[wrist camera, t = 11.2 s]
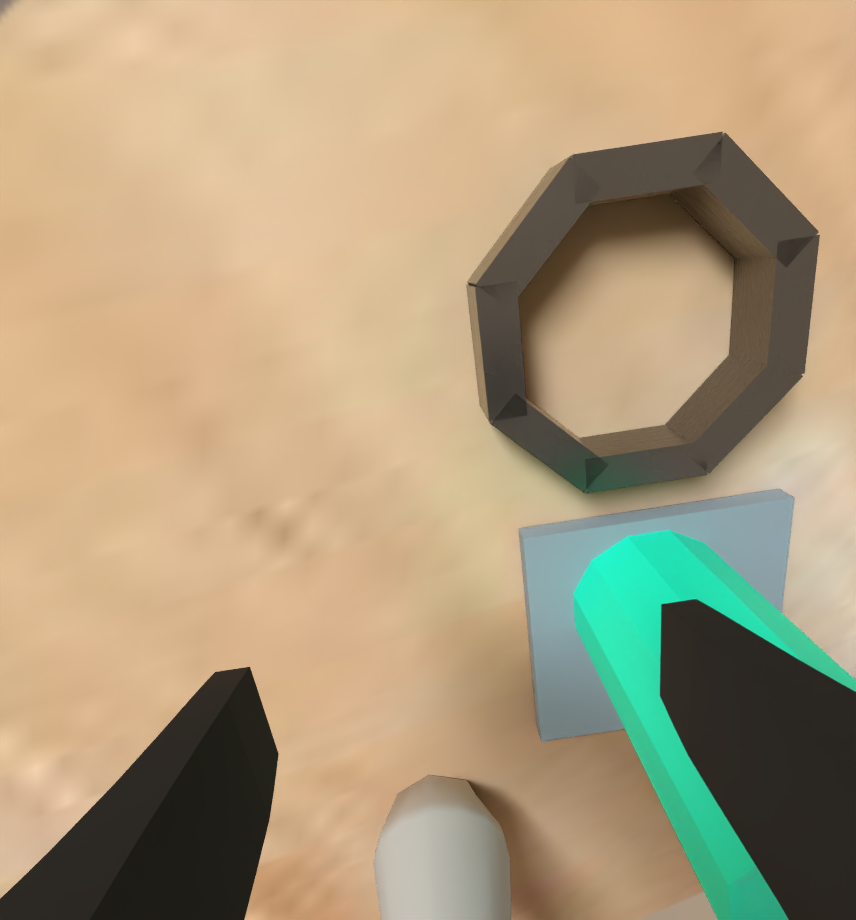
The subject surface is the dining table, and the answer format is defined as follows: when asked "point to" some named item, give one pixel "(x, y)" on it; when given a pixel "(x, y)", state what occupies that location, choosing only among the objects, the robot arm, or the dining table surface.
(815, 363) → the dining table surface
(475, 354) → the collar
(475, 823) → the salt shaker
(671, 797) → the candle
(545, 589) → the mat
